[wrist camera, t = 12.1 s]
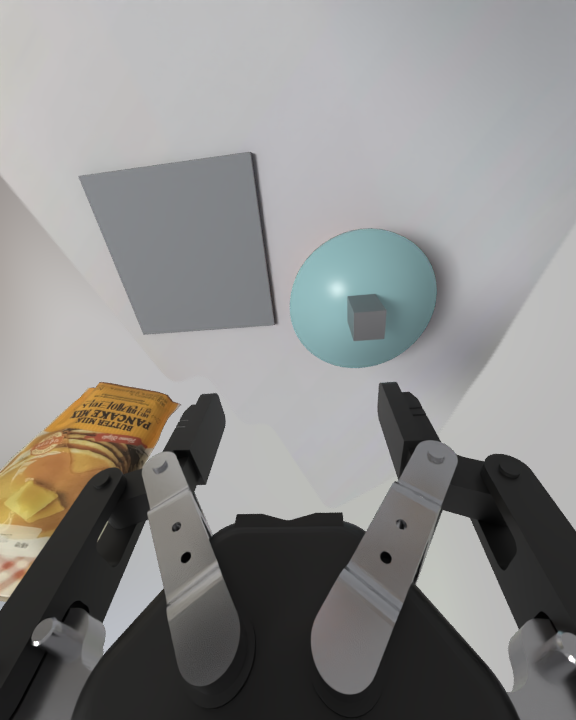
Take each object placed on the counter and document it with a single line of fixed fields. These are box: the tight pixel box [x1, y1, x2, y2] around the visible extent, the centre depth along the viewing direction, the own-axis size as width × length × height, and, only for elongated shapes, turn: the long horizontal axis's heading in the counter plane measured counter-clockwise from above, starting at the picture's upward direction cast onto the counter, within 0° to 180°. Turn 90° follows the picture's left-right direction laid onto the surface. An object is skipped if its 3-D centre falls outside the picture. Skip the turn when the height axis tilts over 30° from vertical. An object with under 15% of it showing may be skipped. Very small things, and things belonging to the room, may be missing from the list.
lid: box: [290, 228, 437, 368], centre depth 29 cm, size 16×16×6 cm
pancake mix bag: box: [0, 382, 181, 602], centre depth 37 cm, size 7×19×28 cm, turn 79°
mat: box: [78, 152, 275, 335], centre depth 36 cm, size 20×20×1 cm
